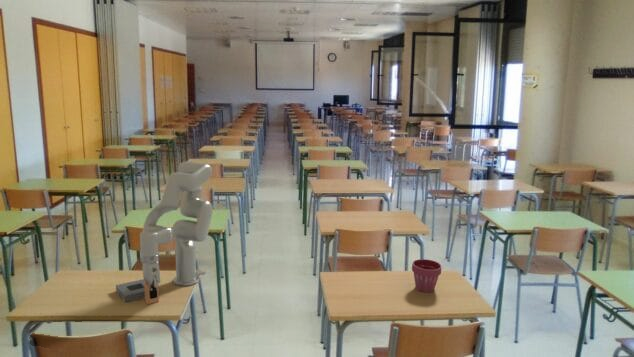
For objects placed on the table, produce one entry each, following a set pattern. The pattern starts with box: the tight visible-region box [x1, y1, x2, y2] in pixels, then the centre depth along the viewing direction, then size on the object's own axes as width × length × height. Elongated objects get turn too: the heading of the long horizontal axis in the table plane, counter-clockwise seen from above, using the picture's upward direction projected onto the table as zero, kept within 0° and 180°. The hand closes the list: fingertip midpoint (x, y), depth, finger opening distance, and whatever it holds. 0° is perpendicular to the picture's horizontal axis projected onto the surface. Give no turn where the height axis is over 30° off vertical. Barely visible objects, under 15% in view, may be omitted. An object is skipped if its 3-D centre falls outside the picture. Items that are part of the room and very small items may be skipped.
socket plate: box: [115, 278, 146, 303], centre depth 240 cm, size 14×14×3 cm
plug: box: [144, 282, 160, 305], centre depth 231 cm, size 5×4×9 cm
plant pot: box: [411, 258, 442, 293], centre depth 253 cm, size 14×14×13 cm
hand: (151, 295), depth 232 cm, fingers closed on plug, 4 cm apart
